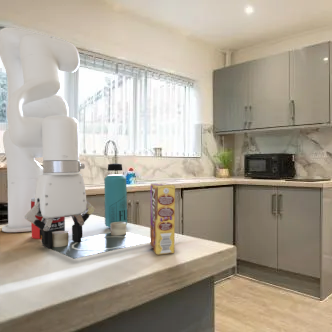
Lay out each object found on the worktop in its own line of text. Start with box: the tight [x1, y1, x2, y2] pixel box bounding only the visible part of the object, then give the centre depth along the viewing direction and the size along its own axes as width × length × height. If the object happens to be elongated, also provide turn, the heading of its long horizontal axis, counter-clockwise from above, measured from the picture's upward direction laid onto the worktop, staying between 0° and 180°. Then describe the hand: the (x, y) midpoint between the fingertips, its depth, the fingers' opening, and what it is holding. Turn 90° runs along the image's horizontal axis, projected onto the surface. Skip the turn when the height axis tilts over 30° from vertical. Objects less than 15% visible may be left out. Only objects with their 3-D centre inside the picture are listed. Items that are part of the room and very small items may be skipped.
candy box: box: [149, 182, 176, 255], centre depth 75 cm, size 9×4×15 cm, turn 26°
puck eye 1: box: [52, 230, 70, 247], centre depth 77 cm, size 4×4×3 cm
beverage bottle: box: [103, 163, 129, 228], centre depth 98 cm, size 6×7×20 cm
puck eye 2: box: [110, 222, 127, 236], centre depth 89 cm, size 4×4×3 cm
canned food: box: [31, 198, 66, 240], centre depth 88 cm, size 8×8×11 cm
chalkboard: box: [41, 231, 150, 260], centre depth 80 cm, size 18×20×1 cm
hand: (62, 243), depth 78 cm, fingers open, 5 cm apart
